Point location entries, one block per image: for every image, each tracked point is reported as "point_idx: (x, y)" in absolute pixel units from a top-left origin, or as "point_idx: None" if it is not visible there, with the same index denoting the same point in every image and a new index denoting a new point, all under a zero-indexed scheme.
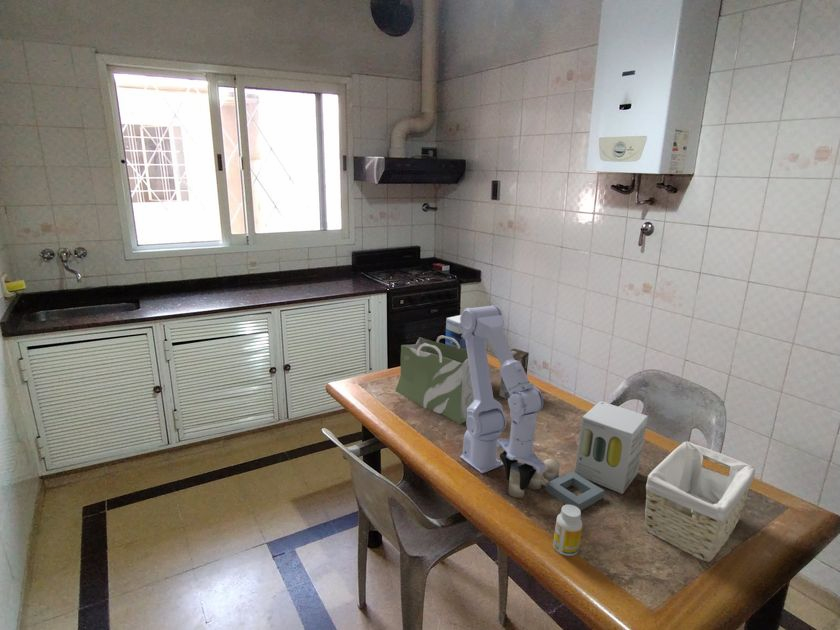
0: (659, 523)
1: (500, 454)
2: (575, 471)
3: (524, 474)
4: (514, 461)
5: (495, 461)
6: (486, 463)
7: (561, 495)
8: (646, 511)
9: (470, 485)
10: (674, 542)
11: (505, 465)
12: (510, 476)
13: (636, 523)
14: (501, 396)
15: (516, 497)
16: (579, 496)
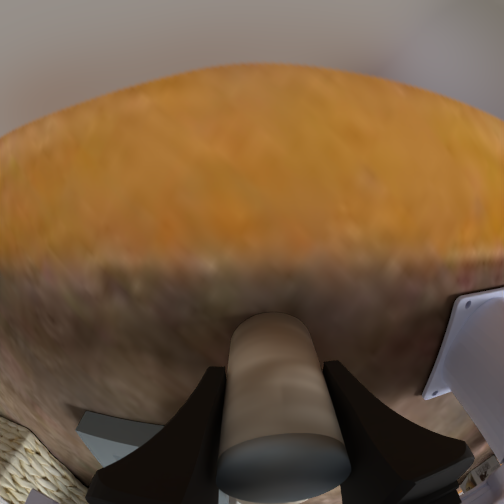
0: (4, 442)
1: (471, 461)
2: (234, 502)
3: (117, 464)
4: (350, 483)
5: (450, 381)
6: (473, 342)
7: (140, 439)
8: (11, 456)
9: (442, 187)
10: (1, 422)
11: (384, 426)
12: (304, 389)
13: (47, 438)
14: (491, 457)
15: (240, 324)
16: (110, 456)
